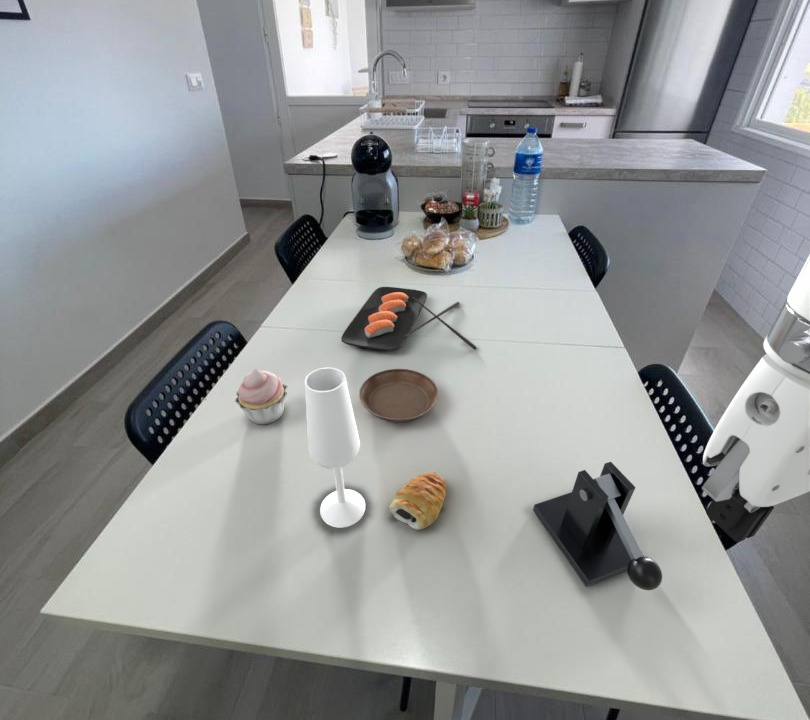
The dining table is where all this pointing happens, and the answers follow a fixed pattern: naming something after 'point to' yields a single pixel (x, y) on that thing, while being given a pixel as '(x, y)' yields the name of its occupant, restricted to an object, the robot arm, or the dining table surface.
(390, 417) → the saucer
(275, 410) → the cupcake
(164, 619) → the dining table surface
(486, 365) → the dining table surface
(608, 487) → the tap lever
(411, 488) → the pastry
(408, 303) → the sushi plate
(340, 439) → the champagne flute
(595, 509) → the black bracket piece
